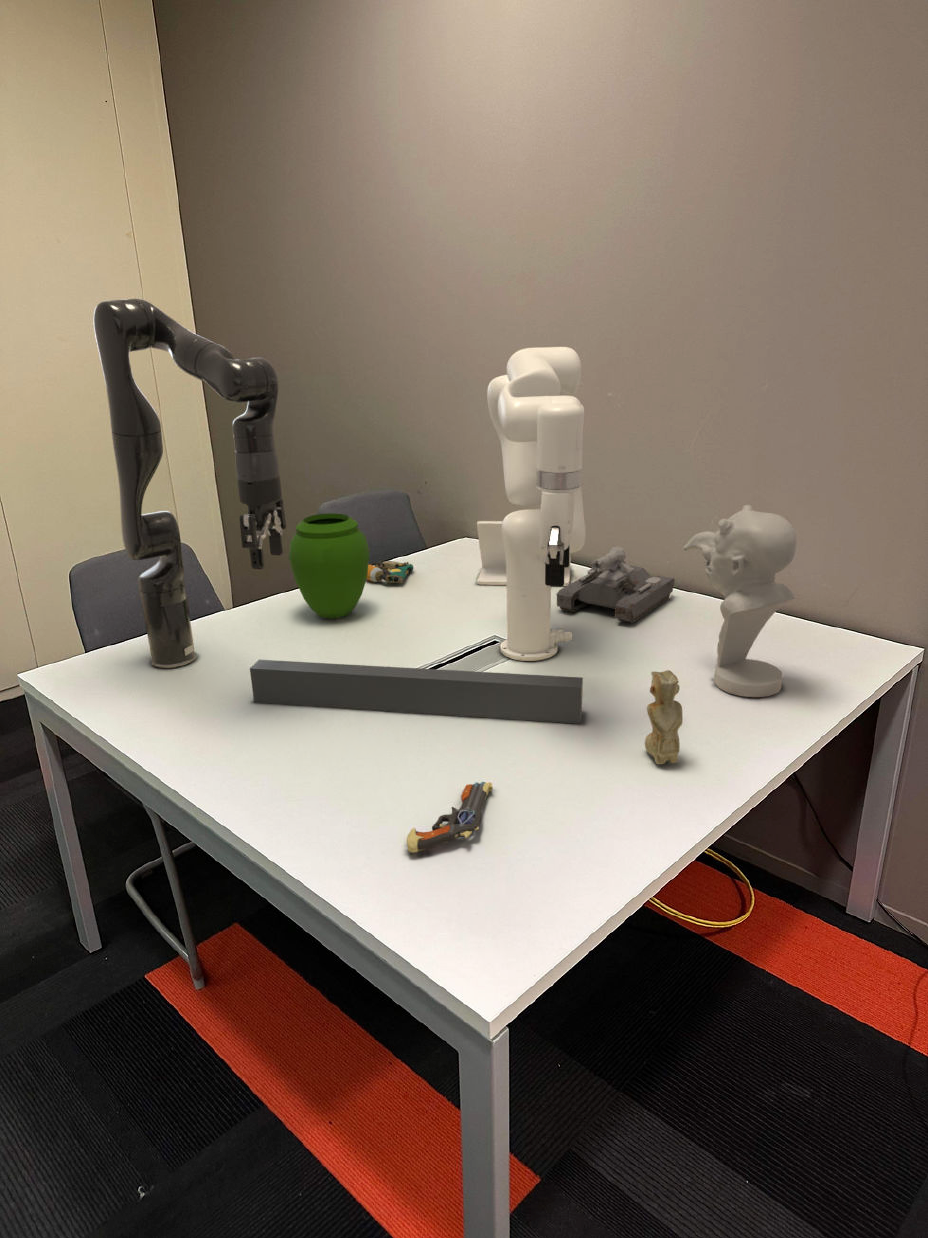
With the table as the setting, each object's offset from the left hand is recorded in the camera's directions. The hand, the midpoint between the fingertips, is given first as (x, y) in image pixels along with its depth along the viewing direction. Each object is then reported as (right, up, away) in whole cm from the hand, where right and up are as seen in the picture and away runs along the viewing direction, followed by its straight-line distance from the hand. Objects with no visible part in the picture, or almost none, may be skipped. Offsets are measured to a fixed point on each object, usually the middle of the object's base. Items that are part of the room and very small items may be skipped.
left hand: (267, 561), depth 159 cm
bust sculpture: (+90, -23, +13) cm, 93 cm away
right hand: (+53, -3, -9) cm, 54 cm away
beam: (+27, -28, +5) cm, 39 cm away
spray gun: (+16, +1, +82) cm, 84 cm away
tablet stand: (+54, +1, +80) cm, 97 cm away
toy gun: (+35, -41, -31) cm, 62 cm away
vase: (+4, -10, +55) cm, 56 cm away
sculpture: (+70, -34, -15) cm, 79 cm away
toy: (+75, -7, +56) cm, 93 cm away
